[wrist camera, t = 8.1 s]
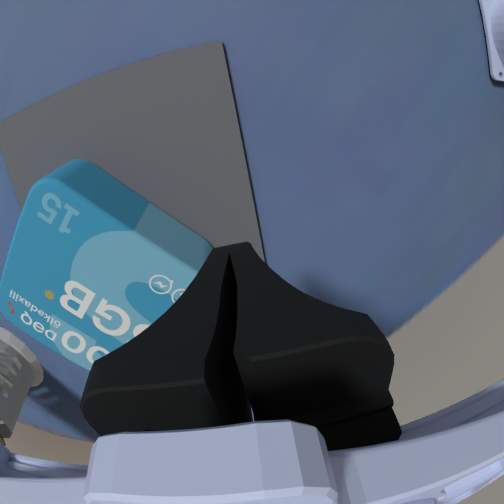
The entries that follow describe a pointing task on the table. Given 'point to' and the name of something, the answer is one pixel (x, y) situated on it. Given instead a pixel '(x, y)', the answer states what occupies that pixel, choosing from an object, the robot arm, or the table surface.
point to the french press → (15, 379)
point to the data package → (94, 263)
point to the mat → (148, 140)
